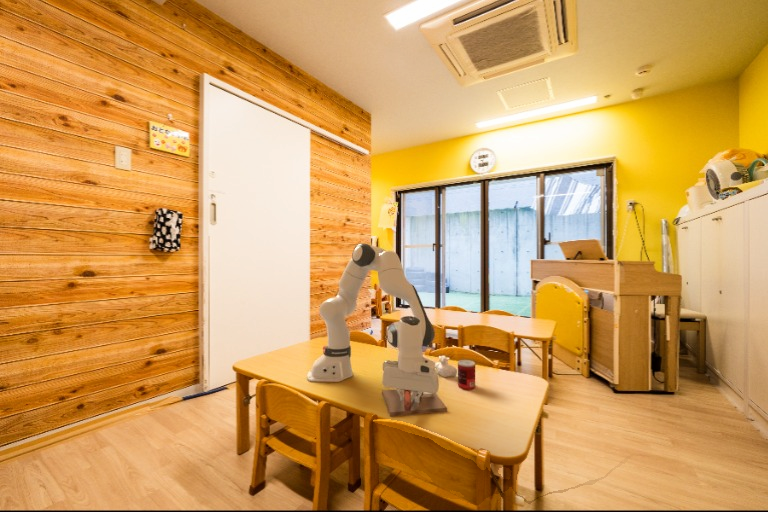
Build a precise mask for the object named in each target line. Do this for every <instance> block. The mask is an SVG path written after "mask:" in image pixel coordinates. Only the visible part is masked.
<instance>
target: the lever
mask: <svg viewBox="0 0 768 512" xmlns="http://www.w3.org/2000/svg"><path fill="white" fill-rule="evenodd" d="M418 395H419V394H418V391H413V394H412V395H411V390H405V389H404V410H405V411H411V407H412V406H413V404H414V403H415V396H418ZM422 395H423V392H422ZM422 395H421V396H422Z"/></svg>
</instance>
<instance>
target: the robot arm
mask: <svg viewBox="0 0 768 512" xmlns="http://www.w3.org/2000/svg"><path fill="white" fill-rule="evenodd" d="M343 270H344V271H343V273H342V275H341V277H340V279H339V281H338V286H339V287H338V292H337V294H336V296H333V297H331V298H328V299H326V300H324V301H323V302H322V303H321V304H320V305H319V309H318V312H319V316H320V318H321V319H322V320H323V321H324V323H325V325H326V331H327V332H326V333H327V345H325V344H324V345H323V346H322V351H323V354H322V355H321V356H320V357H318V358H317V359H315V360H314V362H313V364H312V367H311V369H310V370H309V371H308V372H307V377H306V379H307V380H308V382H317V383H318V382H319V383H320V382H322V383H323V382H328V383H329V382H333V383H334V382H335V383H337V382H338V383H339V382H342V381H344V380H346V379H348V378H351V377H352V376H353V375H354V372H353V368H352V362H351V357H352V347H351V337H350V336H351V335H350V334H351V330H350V329H349V328H348V326H347V323H346V317H348V316H350V315H352V314H353V313H354V312H355V311H356V310H357V307H358V306H357V300H358V295H359V293H360V290H361V288H362V286H363V285H364V282H365V280H366V278H367V276H368V274H369V272H370V271H375V272H377V277H378V284H379V286H380V289H381V290H382V292H384V293H385V294H387V295H389V296H391V297H395V298H397V299H398V298H399V299H400V300H403V301H404V302H405V303H407V304H408V306H409V307H410V310H411V313H412V315H413V316H412V315H405V316H402V317H400V319H399V321H395V322H391V324H390V325H389V326H388V327H387V329H386V331H387V333H386V340H387V343H388V344H389V345H390V346H392V347H393V348H395V349H396V348H397V349H398V352H397V361H396V360H389V359H388V360H386V361H383V362H382V371H383V373H382V381H381V383H382V385H383V387H385V388H392V389H397V391H398V393H399V395H400V401H404V394H403V393H402V389H405V390H412V391H418V394H419V395H418V396H415V403H419V398H420V396H421V395H422V392H426V393H433V394H437V393H438V392H439V388H440V387H439V385H440V384H439V374H438V372H437V370H436V368H435V363H436V362H435V361H434V360H432V359H431V360H430V359H429V358H426V357H424V356H423V350H422V349H423V347H429V346H430V345H431V344H432V342H433V341H434V339H435V336H436V334H435V329H434V326H433V324H432V323H431V321H430V319H429V317H428V315H427V313H426V310H425V307H424V305H423V302H422V300H421V298H420V295H419V293H418V290H417V288H416V287H415V286H414V284H412V283H410V282H409V280H408V279H407V277H406V275H405V273H404V269H403V265H402V262H401V260H400V257H399V255H398V253H396V252H395V251H392V250H386V249H384V248H381V247H379V246H374V245H370V244H368V243H359V244H358V245H356V246H355V247H354V249H353V251H352V256H351V258H350V260H349V261H348V262H347V264H346V267H345V269H343Z"/></svg>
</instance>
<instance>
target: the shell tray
mask: <svg viewBox="0 0 768 512" xmlns="http://www.w3.org/2000/svg"><path fill="white" fill-rule="evenodd" d="M412 394H413V391H411V395H412ZM422 397H432V393H426V392H423V395H422V396H421V398H422Z"/></svg>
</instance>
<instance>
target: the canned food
mask: <svg viewBox="0 0 768 512" xmlns="http://www.w3.org/2000/svg"><path fill="white" fill-rule="evenodd" d="M457 386H458V388H459V389H462V390H464V391H473V390H474V389H475V388H476V362H475V361H473V360H469V359H460V360H458V361H457Z"/></svg>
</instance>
